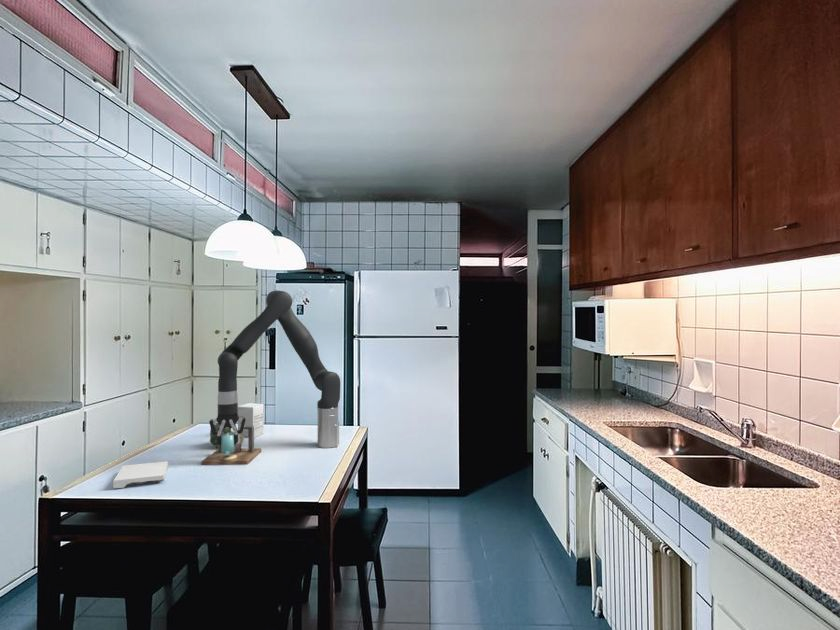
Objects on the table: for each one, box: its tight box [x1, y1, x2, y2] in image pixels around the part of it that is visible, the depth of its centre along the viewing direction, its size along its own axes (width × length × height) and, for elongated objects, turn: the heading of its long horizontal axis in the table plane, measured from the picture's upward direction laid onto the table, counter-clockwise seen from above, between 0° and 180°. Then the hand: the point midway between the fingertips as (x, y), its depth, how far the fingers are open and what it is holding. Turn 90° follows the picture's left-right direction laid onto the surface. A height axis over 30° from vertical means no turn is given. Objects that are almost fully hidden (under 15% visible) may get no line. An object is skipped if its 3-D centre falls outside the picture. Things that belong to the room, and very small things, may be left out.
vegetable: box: [209, 422, 245, 448], centre depth 220 cm, size 12×13×15 cm
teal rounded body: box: [221, 433, 235, 455], centre depth 196 cm, size 9×5×7 cm, turn 19°
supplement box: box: [237, 402, 265, 439], centre depth 239 cm, size 9×9×15 cm
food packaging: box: [112, 460, 169, 489], centre depth 178 cm, size 15×3×20 cm
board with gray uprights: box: [200, 426, 262, 466], centre depth 201 cm, size 18×18×12 cm
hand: (227, 444), depth 196 cm, fingers closed on teal rounded body, 5 cm apart
